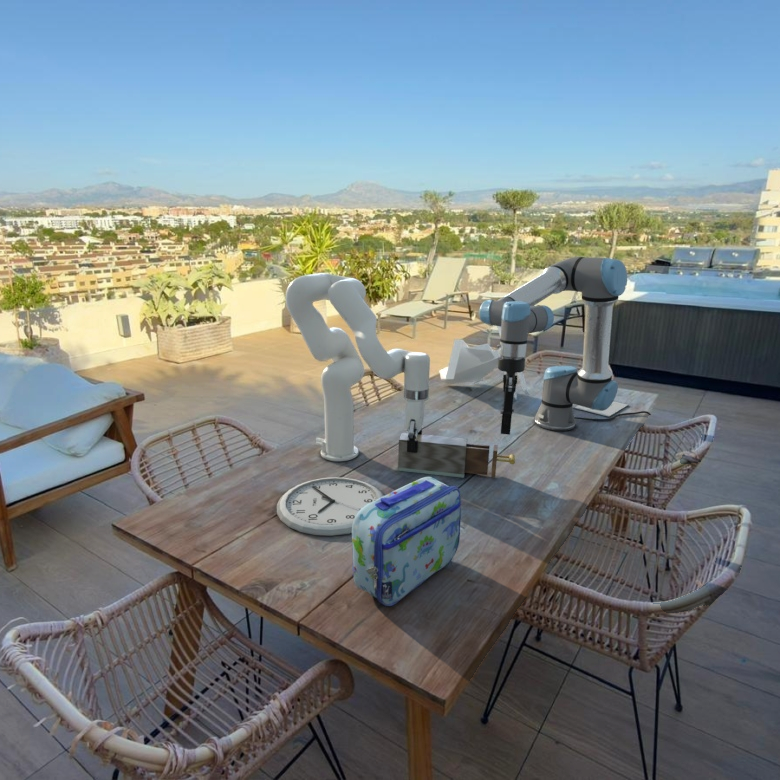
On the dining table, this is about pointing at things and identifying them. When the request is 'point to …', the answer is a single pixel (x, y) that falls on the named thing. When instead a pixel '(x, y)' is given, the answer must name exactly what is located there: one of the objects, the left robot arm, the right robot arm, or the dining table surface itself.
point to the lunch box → (405, 538)
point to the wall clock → (325, 505)
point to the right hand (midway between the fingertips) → (505, 433)
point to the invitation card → (609, 411)
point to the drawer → (483, 459)
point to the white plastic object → (473, 364)
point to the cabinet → (433, 455)
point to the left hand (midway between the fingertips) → (414, 446)
